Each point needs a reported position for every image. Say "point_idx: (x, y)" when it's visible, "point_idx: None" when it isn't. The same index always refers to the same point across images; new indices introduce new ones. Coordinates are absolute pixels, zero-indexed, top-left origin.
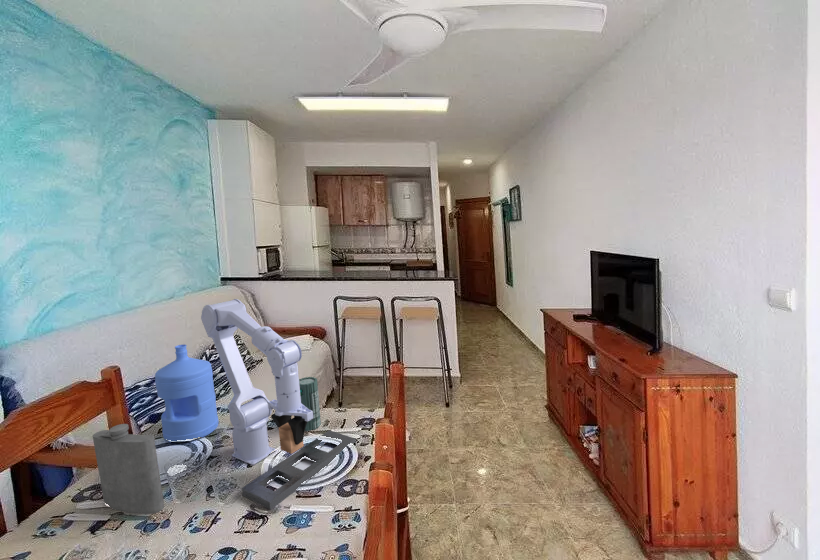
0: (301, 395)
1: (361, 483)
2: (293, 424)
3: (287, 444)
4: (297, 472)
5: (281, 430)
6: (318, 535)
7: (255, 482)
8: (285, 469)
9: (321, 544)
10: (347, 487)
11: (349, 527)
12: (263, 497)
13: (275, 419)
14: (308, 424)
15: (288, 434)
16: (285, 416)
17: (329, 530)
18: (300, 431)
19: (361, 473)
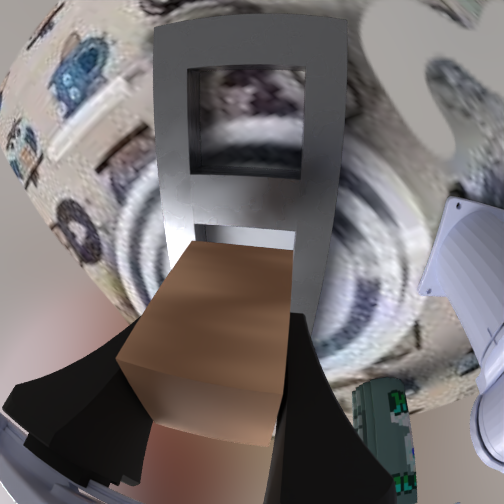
0: (393, 475)
1: (72, 256)
2: (9, 395)
3: (202, 275)
4: (202, 203)
5: (238, 369)
6: (27, 85)
7: (322, 67)
8: (268, 197)
9: (16, 78)
10: (78, 231)
11: (10, 141)
12: (195, 23)
13: (309, 486)
14: (372, 396)
15: (144, 336)
16: (271, 487)
17: (22, 109)
18: None
19: (99, 286)
